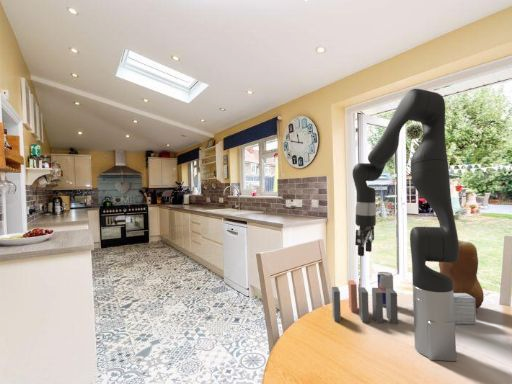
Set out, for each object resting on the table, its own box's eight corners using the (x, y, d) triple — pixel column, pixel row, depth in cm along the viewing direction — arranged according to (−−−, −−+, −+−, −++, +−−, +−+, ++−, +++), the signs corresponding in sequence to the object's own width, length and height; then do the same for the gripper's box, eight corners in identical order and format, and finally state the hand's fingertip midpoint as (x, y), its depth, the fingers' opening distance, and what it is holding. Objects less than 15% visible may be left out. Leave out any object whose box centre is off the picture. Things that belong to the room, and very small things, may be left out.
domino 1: (340, 321, 93) (339, 291, 93) (334, 321, 93) (333, 291, 94) (338, 315, 98) (337, 286, 98) (332, 315, 98) (331, 286, 98)
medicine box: (467, 318, 93) (466, 292, 93) (476, 325, 88) (475, 297, 88) (442, 318, 94) (441, 292, 94) (450, 324, 89) (449, 297, 89)
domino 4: (383, 323, 91) (382, 292, 91) (376, 323, 91) (375, 292, 92) (378, 316, 96) (377, 287, 96) (372, 316, 96) (371, 287, 96)
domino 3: (368, 322, 92) (368, 292, 92) (362, 322, 92) (361, 292, 92) (365, 316, 97) (364, 287, 97) (359, 316, 97) (358, 287, 97)
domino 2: (357, 312, 100) (356, 284, 100) (351, 312, 100) (350, 284, 100) (354, 306, 105) (353, 280, 105) (349, 306, 105) (348, 280, 105)
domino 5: (397, 323, 90) (396, 293, 91) (391, 323, 91) (390, 293, 91) (392, 317, 95) (391, 288, 96) (386, 317, 96) (385, 287, 96)
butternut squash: (484, 307, 102) (481, 238, 102) (484, 320, 91) (481, 244, 92) (439, 298, 111) (437, 235, 111) (434, 310, 100) (432, 240, 101)
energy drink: (375, 303, 107) (374, 272, 108) (386, 301, 109) (385, 271, 109) (385, 308, 102) (384, 276, 102) (397, 306, 104) (396, 274, 104)
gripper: (369, 216, 103) (368, 259, 104) (381, 212, 114) (380, 251, 115) (349, 214, 108) (348, 255, 109) (362, 211, 119) (361, 248, 120)
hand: (364, 253), depth 112 cm, fingers open, 8 cm apart
